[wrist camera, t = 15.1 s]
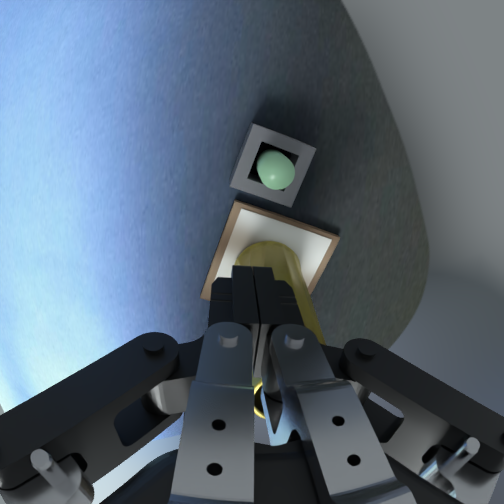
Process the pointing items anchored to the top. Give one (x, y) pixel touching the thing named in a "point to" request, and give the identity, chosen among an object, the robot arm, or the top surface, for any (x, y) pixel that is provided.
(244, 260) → the vase
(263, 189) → the button housing
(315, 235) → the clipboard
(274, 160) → the button
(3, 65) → the top surface
